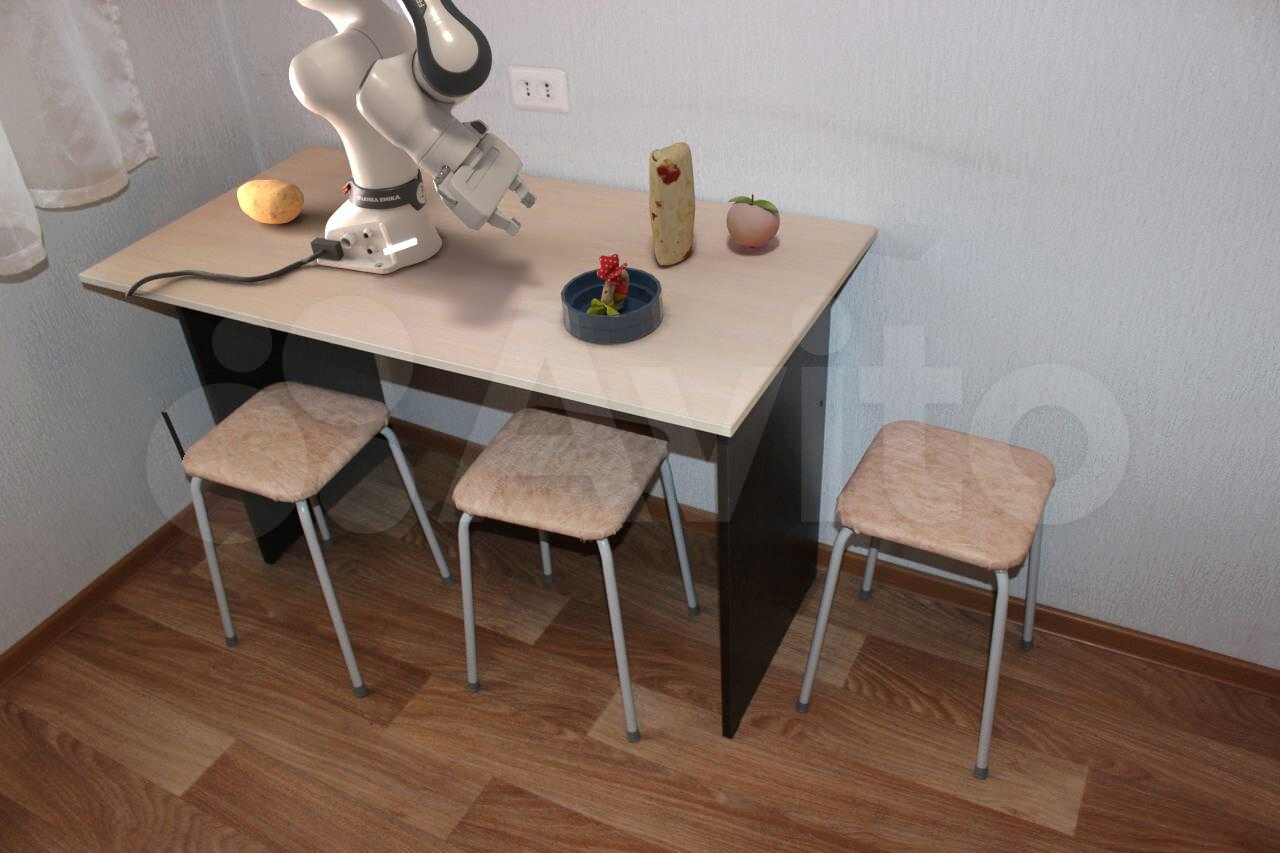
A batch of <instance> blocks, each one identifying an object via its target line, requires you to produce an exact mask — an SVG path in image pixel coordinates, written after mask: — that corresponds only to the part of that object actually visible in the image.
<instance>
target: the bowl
mask: <svg viewBox="0 0 1280 853" xmlns="http://www.w3.org/2000/svg"><path fill="white" fill-rule="evenodd" d="M600 268H601V267H599V268H596V269H591V270H588V271H585V272H583V273H580V274H579V275H577V276H575V277H573V278H572V279H570V280H568V282H567V283H566V284H565V285H563V288H562V290H561V292H560V298H561V299H560V300H561V307H562V316H563V321H564V327H565V328H566V330H567V331H568V332H569V333H570V334H571V335H573V336H575V337H576V338H579V339H580V340H583V341H588V342H592V343H597V344H599V343H600V344H615V343H623V342H629V341H632V340H635V339H638V338H642V337H643V336H645V335H647V334H650V333H651V332H653V331H654V330H655V329H656V328H657V327H658V326H659V325H660V324H661V323H662V319H663V316H664V302H663V288H662V285H661V281H660V280H658V278H657V277H655V276H654V275H653V274H652V273H650V272H648V271H646V270H643V269H639V268H633V267H630V266H627V267H626V268H625V269H624V270H626V271H627V273H628V275H629V287H628V294H627V297H626V298H625V301H624V304H623V308H622V309H619V310H618V311H617V312H618V313H620V314H617V315H592V314H588V313H586V312H587V310H588V309H589V308H590V307H591V301H592V300H593V299H597V300H599V302H600V303H601V299H602V293H603V289H604V285H605V283H606V282H605V280H602V279H600V278H599V277H598V275H597V271H598V270H599V269H600Z"/></svg>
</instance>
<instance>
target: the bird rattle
mask: <svg viewBox="0 0 1280 853" xmlns="http://www.w3.org/2000/svg"><path fill="white" fill-rule="evenodd" d="M598 259H599V264H600V267H599V268H600V269H599V268H598V269H599V270H598V271H597V275H598V277H599V278H600V279H602V280H605V282H606V283H605V285H604V289H603V293H602V299H601V303H600V302H599V300H597V299H593V300H592V301H591V307H590V308H589V309H588V310H587V312H586V313H588V314H592V315H617V314H620V313H618V312H617V311H618V310H619V309H622V308H623V304H624V301H625V298H626V297H627V294H628V287H629V275H628V273H627V271H626V270H624V269H625V268H626V267H628V263H627V262H624V263H622V264H621V265H620V257H619V254H618V253H613V254H612V255H602V254H601V255H600V256H599V257H598Z"/></svg>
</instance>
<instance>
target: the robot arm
mask: <svg viewBox="0 0 1280 853" xmlns="http://www.w3.org/2000/svg"><path fill="white" fill-rule="evenodd" d="M296 1H297V2H298V3H299V4H300V5H301V6H303V7H305V8H306V9H309V10H314V11H317V12H320V13H321V14H323V15H324V16H325V17H326V18H328V19H329V21H331V23H332V24H333V25H334V27H335V29H336V30H337V33H334V34H331V35H329V36H327V37H324V38H322V39H319V40H317V41H314V42H313V43H311V44H309V45H308V46H307V47H306V48H304V49H303V50H301V51H300V52H299V53H297V54H296V55H295V56H294V57H293V58H292V59H291V60H290V64H289V69H288V70H289V71H288V79H289V84H290V87H291V89H292V93H293V94H294V96H295V97H296V99H297V100H298V102H299V103H300V104H301V105H302V106H303V107H304V108H306V109H307V110H309V111H310V112H312V113H313V114H316V115H319V116H320V117H322V118H324V119H326V120H327V121H328V122H329V123H330V125H332V126H333V128H334V129H335V130H336V132H337V133H338V135H339V137H340V138H341V141H342V143H343V146H344V149H345V153H346V156H347V159H348V162H349V166H350V169H351V178H349V179H348V180H347V181H346V182H345V185H344V186H343V187H342V189H341V191H343V193H342V194H343V196H346V195H347V194H348V199H347V200H346V201H345V202H344V203H343V204H341V206H340V207H339V208H338V209H337V210H336V211H335V212H334V213H333V214H332V215H331V216H330V217H329V219H328V221H327V222H326V225H325V229H324V237H318V236H317V237H315V238H314V239H313V240H311V241H310V243H309V244H310V247H311V251H312V255H310V256H307V257H305V258H303V259H300V260H298V261H294V262H293V263H291V264H289V265H286V266H284V267H282V268H279V269H278V270H275V271H273V272H270V273H265V274H261V275H256V276H241V275H233V274H225V273H214V272H210V271H209V272H208V271H203V270H197V269H183V270H182V269H181V270H175V271H174V270H173V271H167V272H160V273H154V274H150V275H147V276H145V277H144V276H143V277H142V278H140V279H138V280H137V281H135V283H133V284H132V285H131V286H130V287H129V289H127V292H126V293H125V297H131V296H133V295H134V293H135V292H137V290H138V289H139V288H140V287H142V286H143V285H146V284H147V283H150V282H152V281H157V280H161V279H168V278H169V279H170V278H177V277H183V276H195V277H201V278H207V279H211V280H212V279H213V280H221V281H230V282H236V283H258V282H263V281H268V280H272V279H274V278H277V277H280V276H282V275H284V274H287V273H289V272H291V271H293V270H295V269H297V268H300V267H302V266H304V265H307V264H310V263H311V262H314V261H316V263H317V264H318V265H320V266H324V267H332V268H339V269H344V270H352V271H359V272H366V273H371V274H372V273H373V274H379V275H388V274H391V273H393V272H395V271H397V270H399V269H402V268H405V267H408V266H413V265H416V264H419V263H422V262H424V261H426V260H428V259H430V258H432V257H434V256H436V254H437V253H438V252H439V251H440V250H441V248H442V246H443V240H442V238H441V237H440V235H439V233H438V231H437V229H436V227H435V224H434V221H433V219H432V217H431V214H430V211H429V208H428V205H427V194H426V187H425V184H424V180H423V175H422V172H421V170H423V171H424V172H425V173H426V174H428V175H429V176H430V177H431V178H432V179H433V184H434V187H435V190H436V193H437V194H438V195H439V198H440V200H441V201H442V203H443V204H444V205H445V206H446V208H447V209H448V210H450V211H451V213H452V214H453V215H455V216H456V218H458V219H459V220H460V222H462V223H463V224H464V225H465V226H467V228H469V229H471V230H474V231H479V230H480V229H481V228H482V227H483V226H484V225H485V224H486V223H488V224H489V225H490V226H491V227H495V228H497V229H500V230H504V231H505V232H506V233H507V234H508V235H510V236H511V237H514V236H516V234H518V233H519V231H520V230H521V228H522V223H521V222H519V221H518V220H517V219H516V218H515V217H512V218H509V217H508V216H506V215H504V214H502V213H503V212H502V210H500V209H499V208H498V205H499V204H500V202H501V201H502V199H503V198H504V196H505V195H506V194H507V191H509V190H510V191H511V192H515V194H516V195H517V196H518V198H519V199H520V203H521V205H523V206H524V207H525V208H526V209H531V208H532V207H533V206H534V204H535V203H536V202H537V200H538V197H537V196H536V195H535V194H534V193H533V192H532V191H530V189H529V187H528V185H527V183H526V182H525V180H524V179H523V178H522V177H521V176H520V175H519V173H520V171H521V169H522V168H523V166H524V163H523V161H522V159H521V157H519V155H518V153H516V152H515V151H514V149H512V148H511V147H510V146H509V145H508V144H506V143H505V142H504V141H503V140H502V139H501V138H500V137H498V136H497V135H496V134H494V133H492V132H489V130H490V128H489V126H488V125H487V124H486V123H485V122H484V121H483V120H481V119H475V120H471V121H470V120H469V121H463V122H461V121H460V120H459V119H458V118H457V117H456V116H454V115H453V113H452V110H453V109H454V108H456V107H457V106H459V105H461V104H462V103H464V102H465V101H467V100H468V99H469V98H470V97H471V96H472V95H473V94H474V93H475V92H476V91H477V90H478V89H480V88H481V87H483V85H484V84H485V82H487V80H488V78H489V76H490V74H491V70H492V65H493V55H492V54H493V53H492V48H491V45H490V42H489V40H488V39H487V37H486V35H485V33H484V32H483V30H482V29H480V28H479V27H478V25H476V24H475V23H474V22H473V21H472V20H471V19H470V18H468V17H467V16H466V15H465V14H463V12H462V11H461V10H460V9H459V8H458V7H457V6H456V5H455V4H454V2H453V1H452V0H396V1H397V3H398V5H399V6H400V8H401V9H402V11H403V14H404V15H403V14H400V13H398V12H397V11H395V10H394V9H393V8H391V7H390V6H389V5H388V4H386V3H385V2H384V1H383V0H296ZM419 167H420V168H421V169H420V168H419ZM160 413H161V416H162V418H163V420H164V422H165V425H166V427H167V429H168V431H169V433H170V436H171V438H172V440H173V443H174V445H175V447H176V450H177V452H178V455H179V457H180V459H181V460H180V461H182V460H183V457H184V455H186V453H185V450H184V447H183V446H182V443H181V441H180V439H179V436H178V433H177V432H176V429H175V427H174V425H173V423H172V420H171V418H170V416H169V414H168V412H167V411H160Z"/></svg>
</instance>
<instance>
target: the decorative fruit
mask: <svg viewBox="0 0 1280 853" xmlns="http://www.w3.org/2000/svg"><path fill="white" fill-rule="evenodd" d="M754 197H755V195H754V193H752V194H751V198H750V197H748V196H745V195H739V196H735V197H733V198H731V199H728V201H727V203H733V204H732V205H730V207H729V209H728V211H727V213H726V214H727V215H726V228H727V231H728V233H729V235H730V237H731V239H732V240H733V241H735V242H736V243H737V244H739V245H741V246H745V247H749V248H750V249H754V248H759V247H761V246H765V245H767V244H769V243H770V242H771V241H772V240H773V239H774V238H775V236H776V235H777V233H778V231H779V228H780V226H781V217H780V212H779V210H778V208H777V206H776V205H775V204H773V202H770V201H769V200H766V199H756V200H755V199H754Z"/></svg>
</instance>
